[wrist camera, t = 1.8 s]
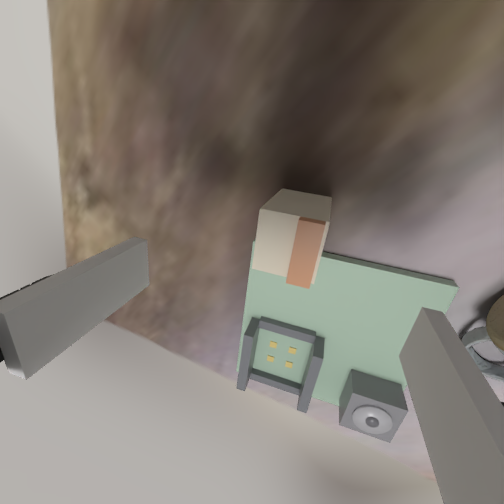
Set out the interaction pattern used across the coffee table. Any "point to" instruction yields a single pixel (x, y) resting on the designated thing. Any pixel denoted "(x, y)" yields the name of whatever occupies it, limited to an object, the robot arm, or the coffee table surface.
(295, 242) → the plug
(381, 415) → the fan
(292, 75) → the coffee table surface
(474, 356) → the ceramic mug
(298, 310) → the board
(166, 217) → the coffee table surface
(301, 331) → the header
